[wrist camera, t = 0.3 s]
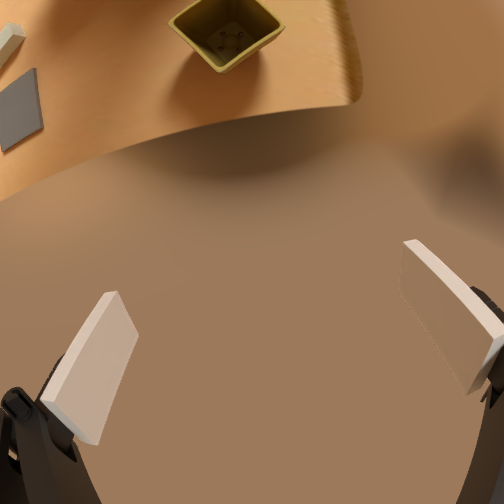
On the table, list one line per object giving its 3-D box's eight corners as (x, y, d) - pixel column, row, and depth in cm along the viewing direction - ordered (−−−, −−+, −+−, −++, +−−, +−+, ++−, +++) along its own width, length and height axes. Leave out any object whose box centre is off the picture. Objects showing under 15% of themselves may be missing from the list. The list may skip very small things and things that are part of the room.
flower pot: (225, 85, 32) (218, 74, 24) (183, 42, 29) (165, 22, 21) (278, 47, 30) (288, 26, 22) (235, 5, 27) (232, -24, 19)
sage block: (-4, 57, 25) (-18, 56, 21) (21, 25, 23) (8, 22, 19) (0, 69, 26) (-14, 69, 23) (26, 37, 25) (12, 34, 21)
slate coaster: (-4, 97, 28) (-6, 97, 28) (35, 68, 28) (32, 67, 27) (4, 151, 33) (1, 152, 32) (43, 127, 32) (40, 127, 32)
